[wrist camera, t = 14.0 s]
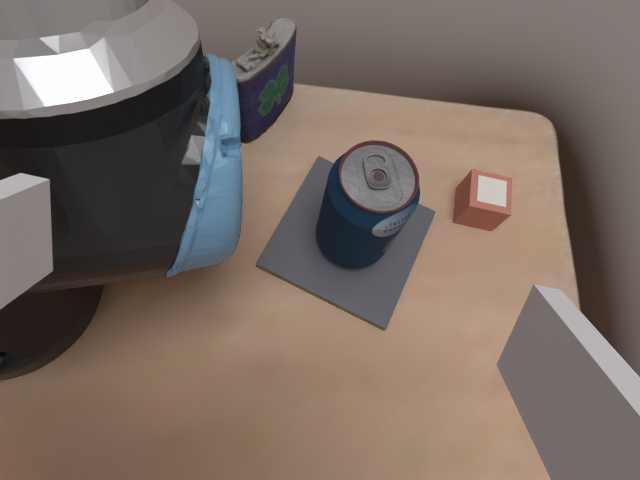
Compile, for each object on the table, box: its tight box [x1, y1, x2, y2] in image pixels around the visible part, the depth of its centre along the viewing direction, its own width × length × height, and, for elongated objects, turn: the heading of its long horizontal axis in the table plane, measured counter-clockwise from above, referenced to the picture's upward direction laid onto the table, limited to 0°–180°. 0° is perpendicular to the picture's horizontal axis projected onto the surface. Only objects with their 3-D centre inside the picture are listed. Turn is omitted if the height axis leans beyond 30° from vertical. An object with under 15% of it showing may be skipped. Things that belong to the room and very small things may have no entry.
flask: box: [231, 18, 297, 143], centre depth 42 cm, size 9×3×11 cm, turn 147°
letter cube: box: [453, 169, 512, 231], centre depth 44 cm, size 4×4×4 cm
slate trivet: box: [256, 156, 435, 330], centre depth 42 cm, size 13×13×1 cm
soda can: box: [316, 141, 420, 268], centre depth 36 cm, size 7×7×12 cm
